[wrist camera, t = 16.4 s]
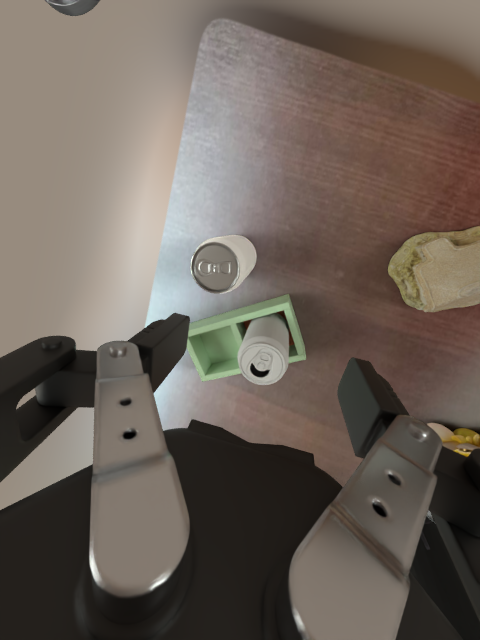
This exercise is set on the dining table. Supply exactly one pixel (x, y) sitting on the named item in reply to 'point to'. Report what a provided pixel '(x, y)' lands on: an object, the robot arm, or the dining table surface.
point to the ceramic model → (439, 270)
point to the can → (223, 263)
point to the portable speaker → (444, 582)
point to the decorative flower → (457, 439)
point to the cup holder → (237, 337)
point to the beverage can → (265, 349)
